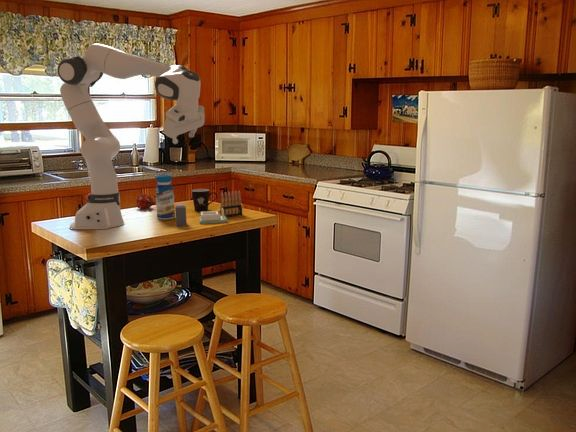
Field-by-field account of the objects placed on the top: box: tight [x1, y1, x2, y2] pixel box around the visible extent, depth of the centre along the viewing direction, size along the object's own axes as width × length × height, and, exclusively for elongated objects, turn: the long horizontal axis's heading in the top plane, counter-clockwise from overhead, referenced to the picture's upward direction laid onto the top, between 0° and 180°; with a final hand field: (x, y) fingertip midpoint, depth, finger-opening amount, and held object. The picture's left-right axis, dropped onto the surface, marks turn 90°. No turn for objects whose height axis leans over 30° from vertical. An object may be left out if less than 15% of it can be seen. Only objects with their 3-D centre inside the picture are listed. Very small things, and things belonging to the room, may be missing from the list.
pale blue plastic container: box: [198, 208, 228, 225], centre depth 249 cm, size 12×10×5 cm
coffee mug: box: [191, 188, 218, 212], centre depth 274 cm, size 12×9×10 cm
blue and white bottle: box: [154, 173, 176, 221], centre depth 256 cm, size 8×8×20 cm
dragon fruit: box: [135, 192, 156, 211], centre depth 281 cm, size 8×8×12 cm
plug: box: [174, 203, 188, 227], centre depth 242 cm, size 4×4×9 cm
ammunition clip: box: [219, 190, 243, 218], centre depth 259 cm, size 11×2×12 cm, turn 123°
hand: (183, 139), depth 234 cm, fingers open, 8 cm apart
